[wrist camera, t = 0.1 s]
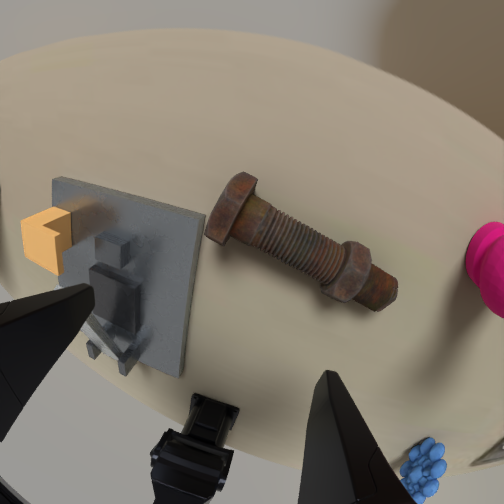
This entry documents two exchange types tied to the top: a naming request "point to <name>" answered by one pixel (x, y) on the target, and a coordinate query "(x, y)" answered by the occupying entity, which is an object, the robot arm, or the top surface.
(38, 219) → the block
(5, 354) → the robot arm
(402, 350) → the top surface
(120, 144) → the top surface
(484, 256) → the pepper mill
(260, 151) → the top surface
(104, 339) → the strap
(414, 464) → the grapes
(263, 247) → the bolt
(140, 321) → the base
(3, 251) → the top surface
